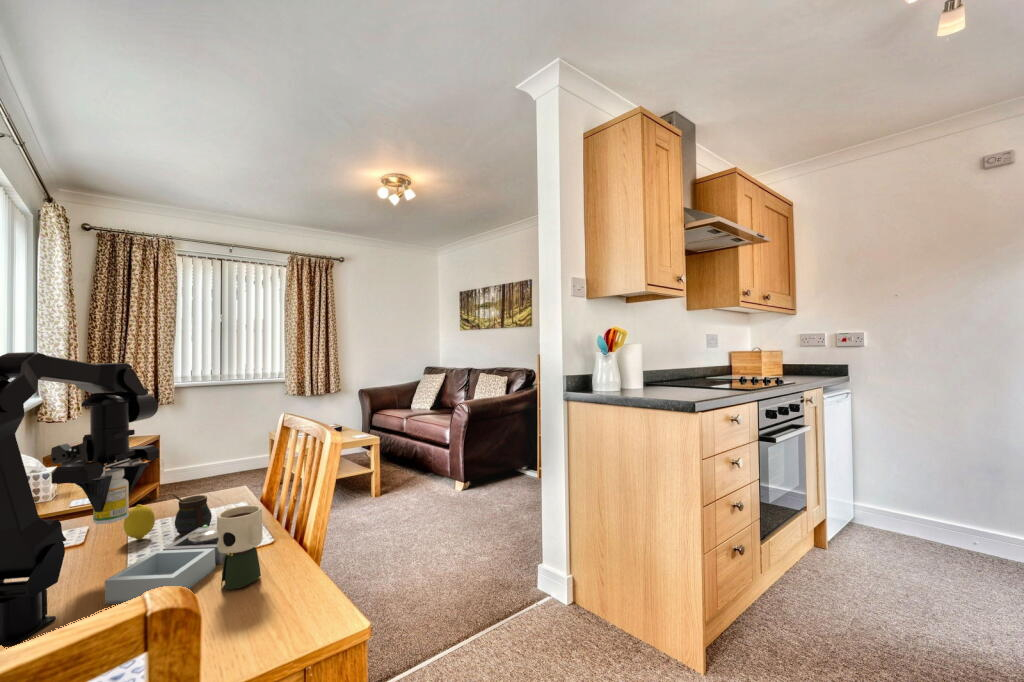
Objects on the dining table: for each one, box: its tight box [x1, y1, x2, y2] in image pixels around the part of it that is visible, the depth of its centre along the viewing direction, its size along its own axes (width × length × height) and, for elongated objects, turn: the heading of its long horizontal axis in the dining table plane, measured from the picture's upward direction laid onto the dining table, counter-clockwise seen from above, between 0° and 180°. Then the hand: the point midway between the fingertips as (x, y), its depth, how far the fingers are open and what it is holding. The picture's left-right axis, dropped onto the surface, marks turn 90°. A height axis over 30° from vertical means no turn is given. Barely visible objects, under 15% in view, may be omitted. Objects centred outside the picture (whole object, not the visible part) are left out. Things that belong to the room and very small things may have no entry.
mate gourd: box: [172, 494, 213, 537], centre depth 108 cm, size 7×8×10 cm
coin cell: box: [188, 525, 218, 544], centre depth 97 cm, size 7×7×2 cm
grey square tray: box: [162, 525, 226, 566], centre depth 97 cm, size 11×11×4 cm
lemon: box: [123, 503, 156, 541], centre depth 105 cm, size 6×6×8 cm
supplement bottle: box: [92, 468, 130, 525], centre depth 90 cm, size 5×5×10 cm
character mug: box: [216, 504, 264, 590], centre depth 84 cm, size 11×7×13 cm, turn 58°
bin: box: [104, 548, 216, 605], centre depth 84 cm, size 11×11×4 cm
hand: (111, 506), depth 90 cm, fingers closed on supplement bottle, 5 cm apart
